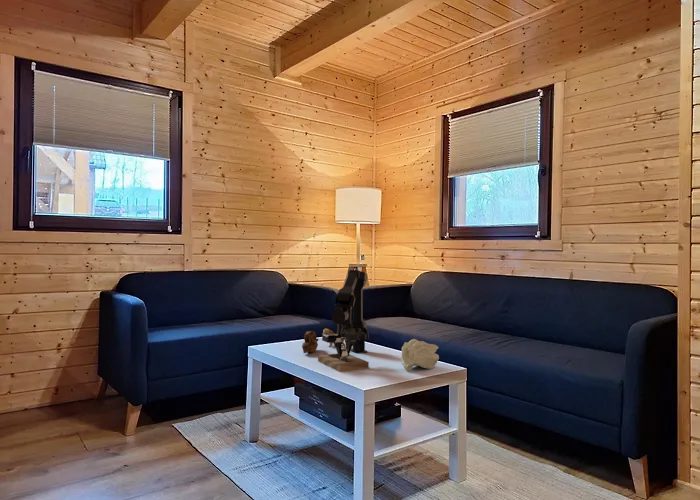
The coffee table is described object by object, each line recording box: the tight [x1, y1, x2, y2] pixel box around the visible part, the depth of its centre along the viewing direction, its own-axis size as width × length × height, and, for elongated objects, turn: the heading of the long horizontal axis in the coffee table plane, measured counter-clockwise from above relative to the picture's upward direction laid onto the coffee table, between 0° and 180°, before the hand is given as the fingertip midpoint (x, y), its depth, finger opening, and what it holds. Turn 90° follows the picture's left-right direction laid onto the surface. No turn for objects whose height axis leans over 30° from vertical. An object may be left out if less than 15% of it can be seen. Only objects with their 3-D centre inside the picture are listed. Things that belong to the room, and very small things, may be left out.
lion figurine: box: [322, 328, 346, 348], centre depth 247 cm, size 15×5×9 cm, turn 72°
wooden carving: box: [301, 330, 319, 354], centre depth 233 cm, size 16×5×10 cm, turn 168°
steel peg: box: [340, 347, 349, 362], centre depth 209 cm, size 5×5×7 cm
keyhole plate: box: [317, 353, 370, 373], centre depth 210 cm, size 20×14×3 cm
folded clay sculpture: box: [400, 338, 440, 372], centre depth 206 cm, size 18×13×16 cm
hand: (343, 356), depth 209 cm, fingers closed on steel peg, 3 cm apart
